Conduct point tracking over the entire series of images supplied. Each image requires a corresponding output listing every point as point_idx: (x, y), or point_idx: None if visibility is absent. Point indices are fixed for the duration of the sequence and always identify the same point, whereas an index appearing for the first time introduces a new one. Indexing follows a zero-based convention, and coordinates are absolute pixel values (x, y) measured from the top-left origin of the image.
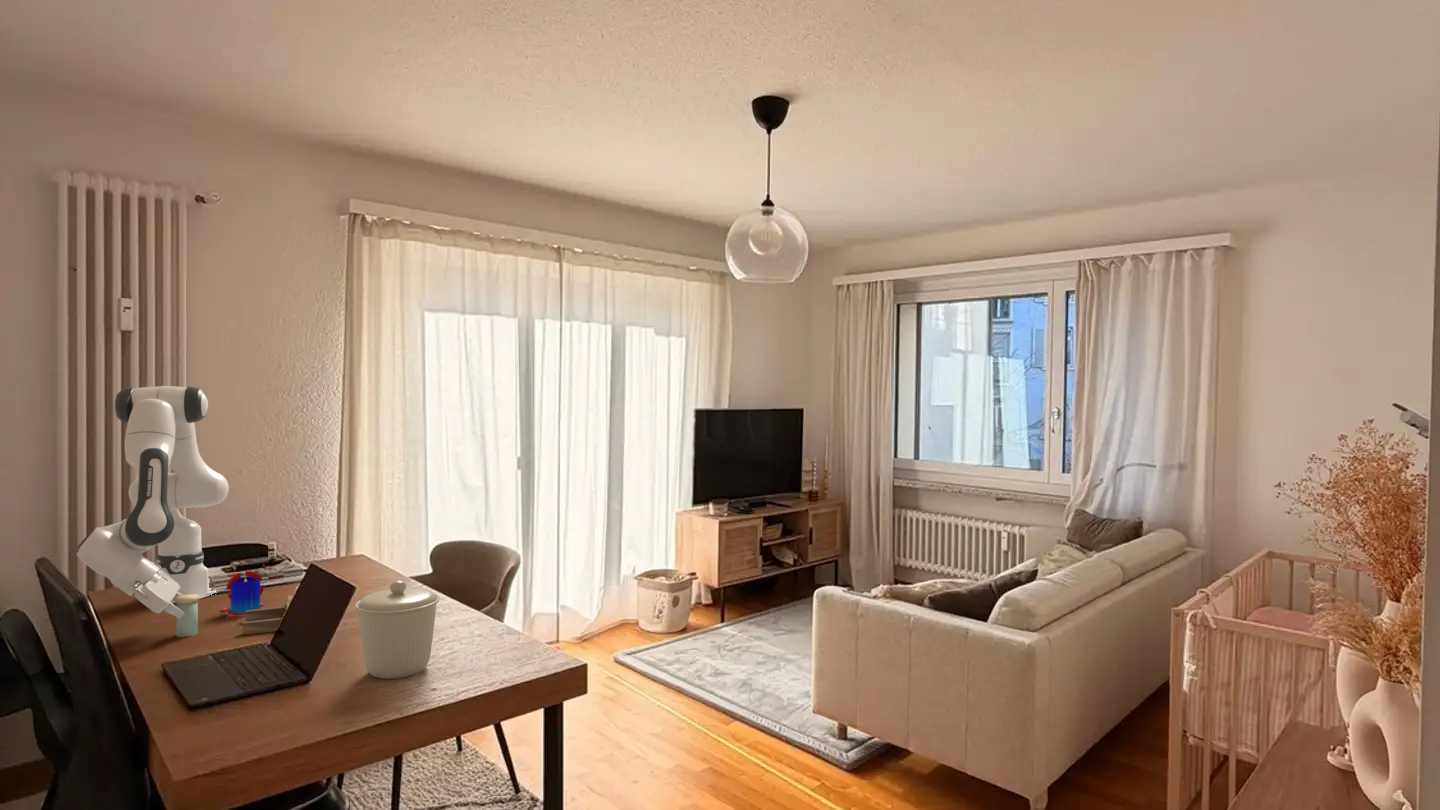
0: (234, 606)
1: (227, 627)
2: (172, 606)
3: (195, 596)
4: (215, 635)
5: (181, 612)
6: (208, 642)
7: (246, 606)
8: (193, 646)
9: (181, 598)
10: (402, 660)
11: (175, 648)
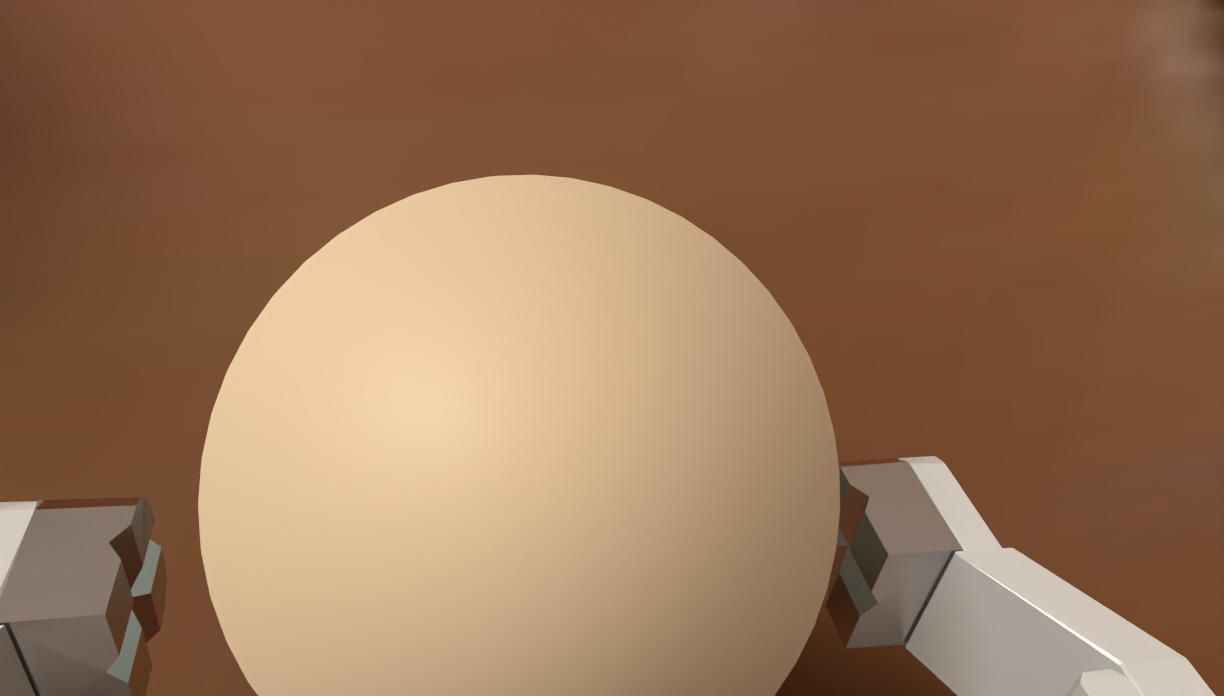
0: None
1: (315, 30)
2: (1184, 674)
3: (586, 264)
4: (653, 146)
5: (960, 502)
6: (911, 196)
7: None
8: (1003, 327)
9: (681, 608)
10: None
11: (1014, 498)
